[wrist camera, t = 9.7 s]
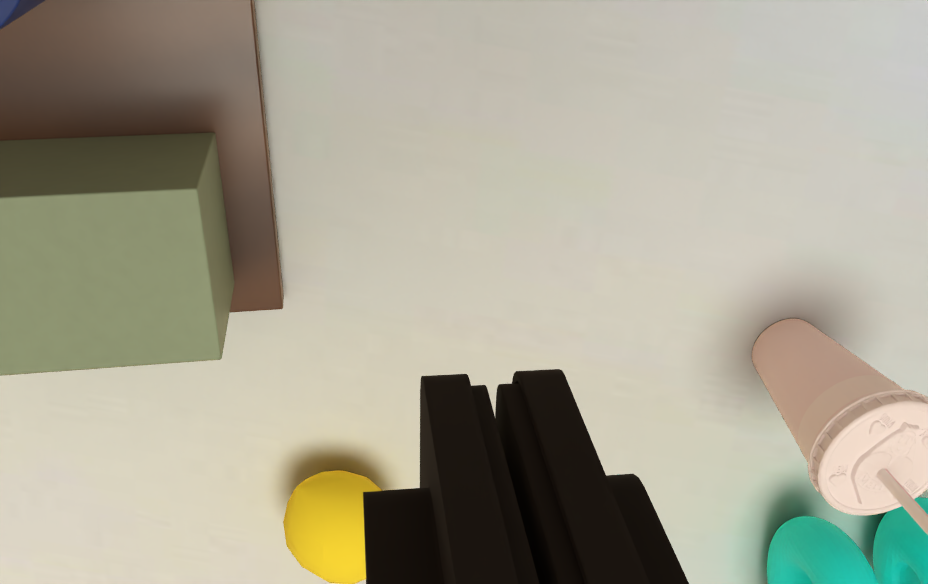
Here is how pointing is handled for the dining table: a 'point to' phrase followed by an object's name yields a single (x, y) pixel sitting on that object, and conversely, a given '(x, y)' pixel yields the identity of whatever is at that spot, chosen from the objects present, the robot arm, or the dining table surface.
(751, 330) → the dining table surface
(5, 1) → the bottle
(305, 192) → the dining table surface
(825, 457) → the smoothie
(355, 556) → the lemon
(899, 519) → the donuts
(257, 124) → the board
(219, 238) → the block
